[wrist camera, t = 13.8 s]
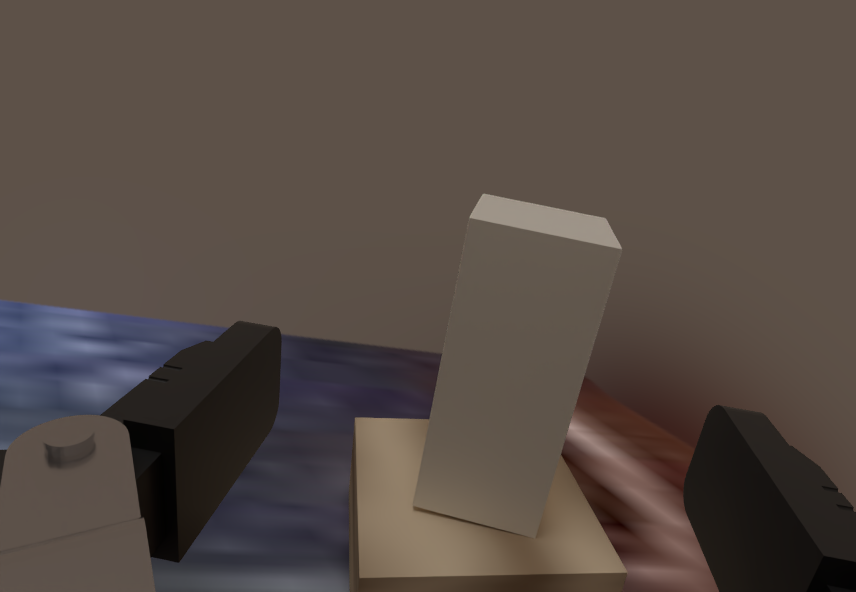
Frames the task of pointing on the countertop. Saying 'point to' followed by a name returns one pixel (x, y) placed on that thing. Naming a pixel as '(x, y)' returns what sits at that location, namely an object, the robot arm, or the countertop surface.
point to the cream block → (514, 360)
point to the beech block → (462, 530)
